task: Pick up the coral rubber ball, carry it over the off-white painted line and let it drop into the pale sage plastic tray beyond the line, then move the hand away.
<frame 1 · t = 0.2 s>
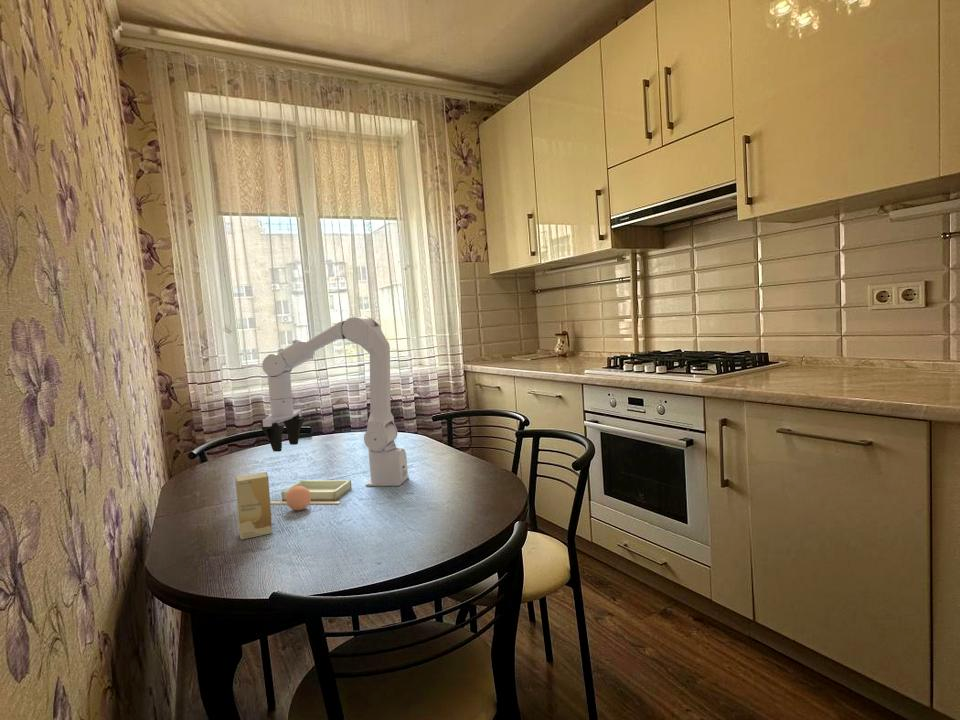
hand: (285, 447, 149), 10 cm above the table, tool pointing down, fingers open, 7 cm apart
skincare box: (256, 534, 114), on the table
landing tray: (317, 494, 138), on the table
ball: (298, 498, 127), point 3 cm above the table
throw line: (304, 503, 132), on the table
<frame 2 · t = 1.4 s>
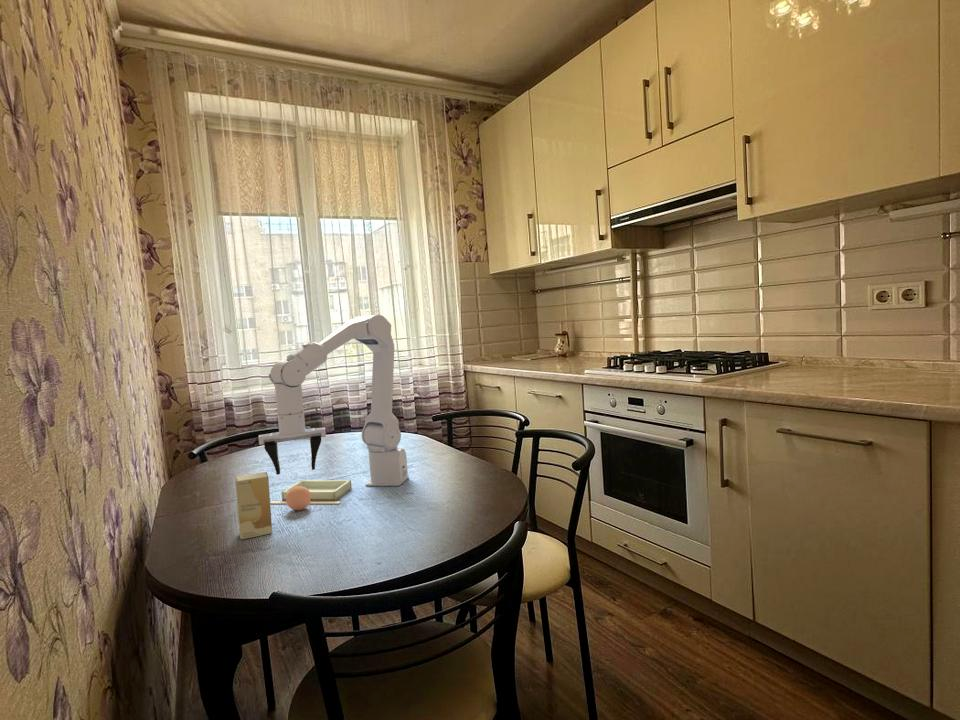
hand: (296, 471, 127), 9 cm above the table, tool pointing down, fingers open, 7 cm apart
nothing on the table moved.
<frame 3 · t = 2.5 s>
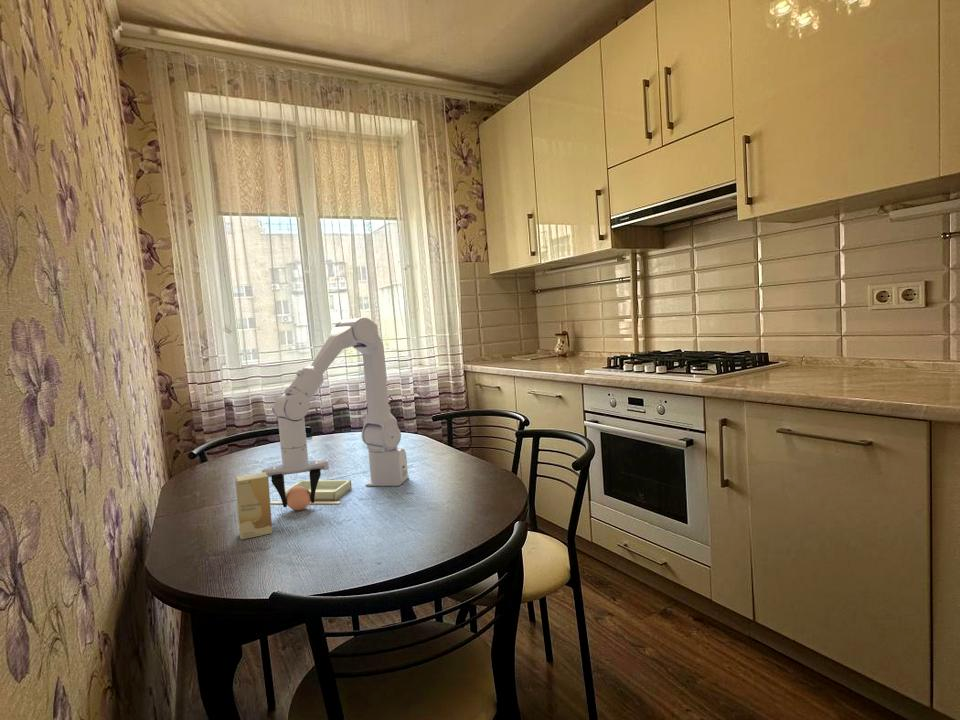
hand: (299, 503, 127), 1 cm above the table, tool pointing down, fingers closed on ball, 5 cm apart
ball: (298, 498, 127), point 3 cm above the table, touching gripper
everything else where it was.
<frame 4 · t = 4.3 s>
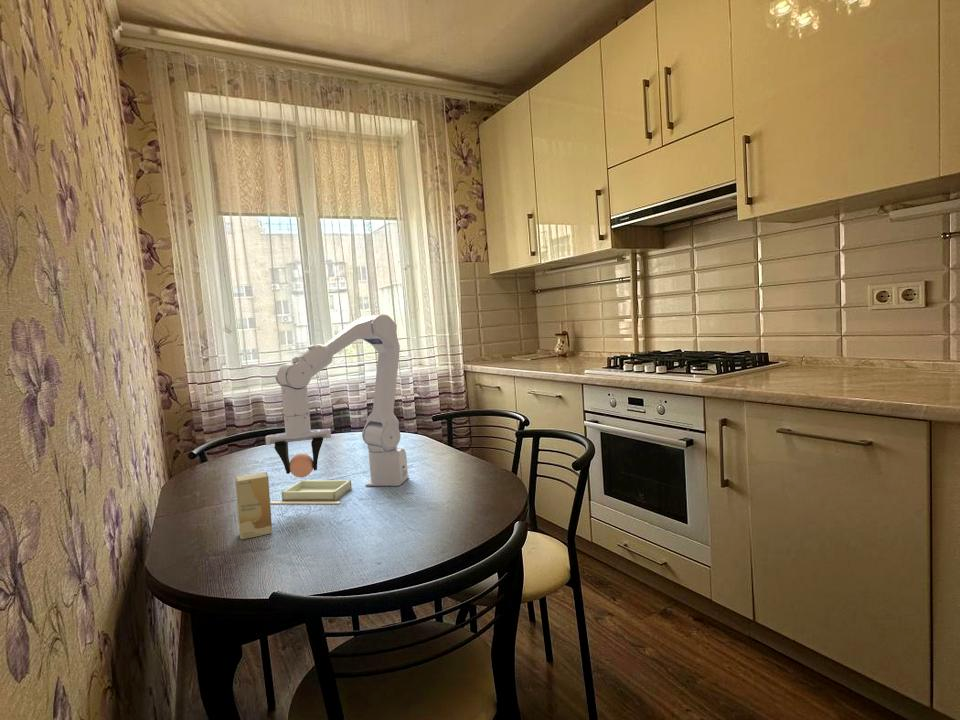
hand: (302, 471, 130), 8 cm above the table, tool pointing down, fingers closed on ball, 5 cm apart
ball: (301, 465, 129), point 10 cm above the table, touching gripper
everything else where it was.
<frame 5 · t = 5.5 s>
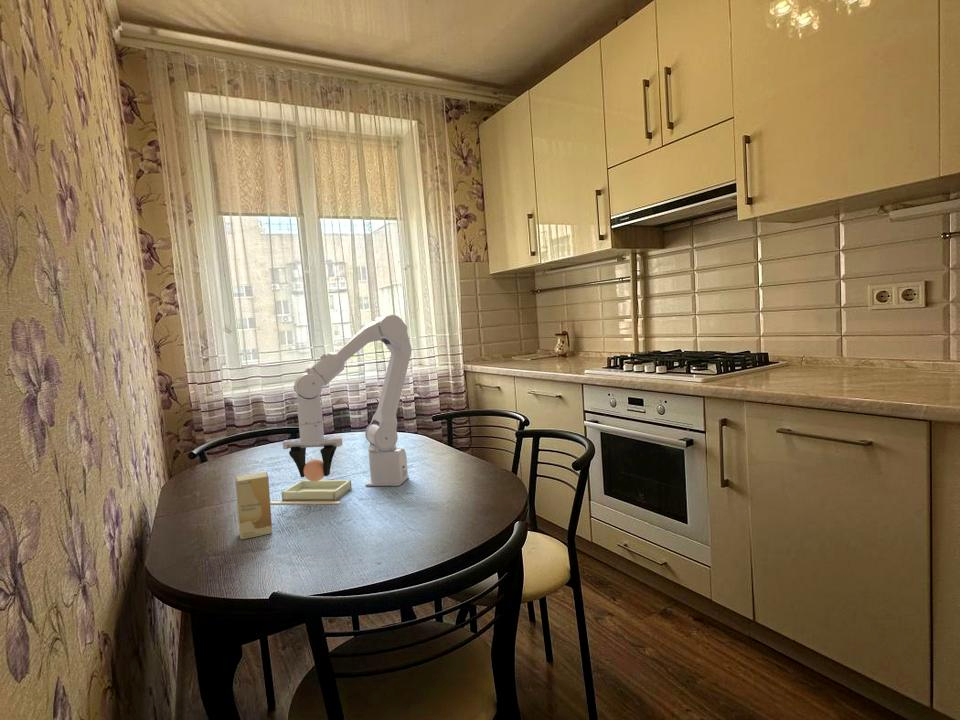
hand: (315, 475, 137), 5 cm above the table, tool pointing down, fingers closed on ball, 5 cm apart
ball: (314, 470, 137), point 6 cm above the table, touching gripper
everything else where it was.
when the fingers open (4 cm above the table, at t = 6.3 s): ball drops 2 cm, resting on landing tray.
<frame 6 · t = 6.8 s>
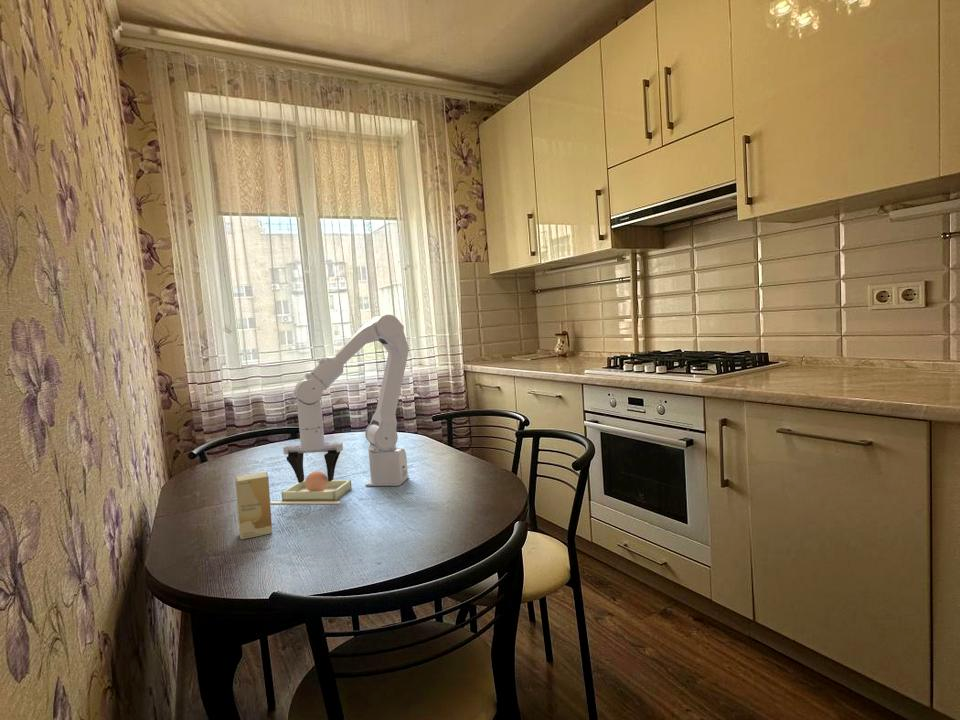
hand: (316, 480, 137), 4 cm above the table, tool pointing down, fingers open, 7 cm apart
ball: (316, 482, 137), point 3 cm above the table, touching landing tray
everything else where it was.
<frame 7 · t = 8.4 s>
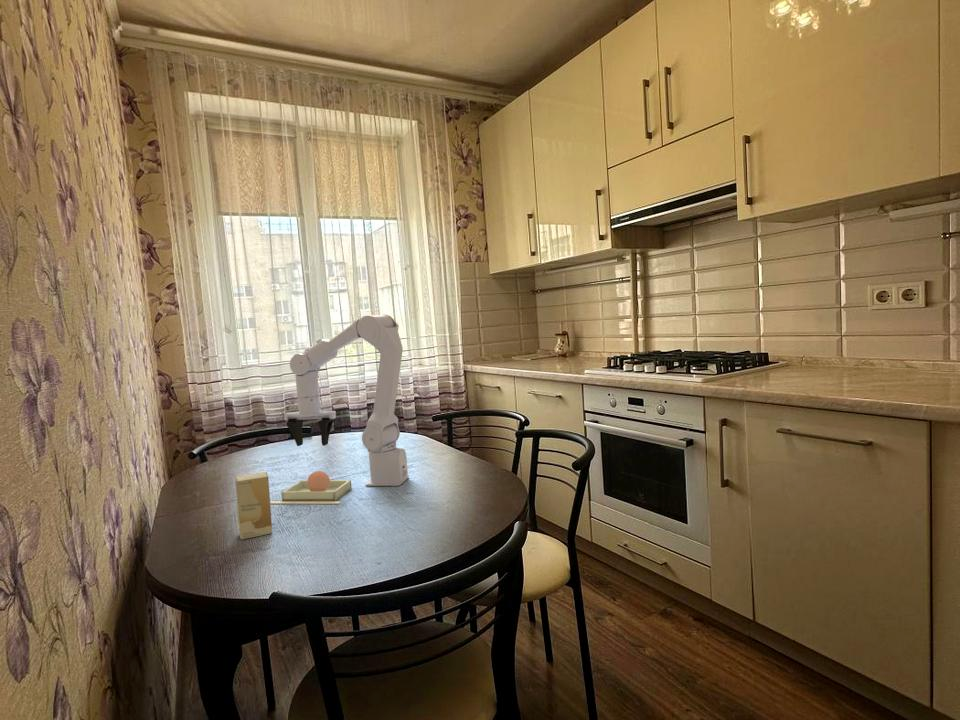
hand: (312, 445, 153), 9 cm above the table, tool pointing down, fingers open, 7 cm apart
ball: (318, 482, 137), point 3 cm above the table, tilted 13°, touching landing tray
everything else where it was.
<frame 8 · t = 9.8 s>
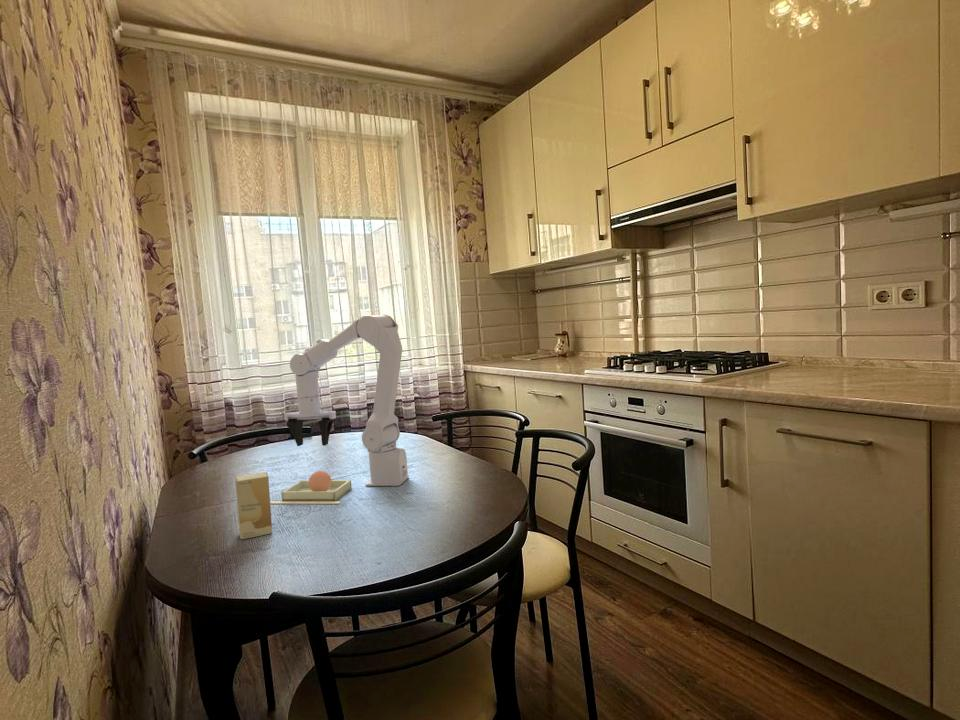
hand: (312, 445, 153), 9 cm above the table, tool pointing down, fingers open, 7 cm apart
ball: (320, 482, 137), point 3 cm above the table, tilted 21°, touching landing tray
everything else where it was.
at the end: ball inside the target area on the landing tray (1.0 cm from its centre), point 3.2 cm above the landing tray's base; ball inside the target area (1.9 cm from its centre), point 3.2 cm above the table; the gripper is holding nothing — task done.
